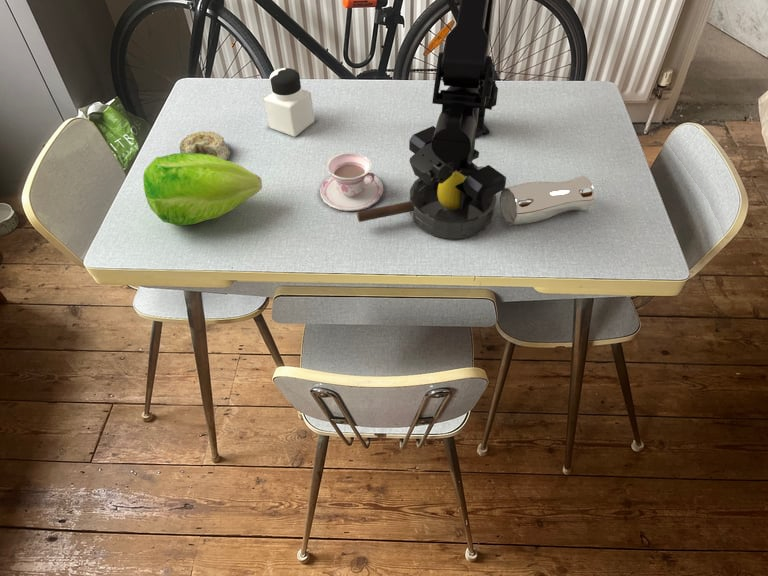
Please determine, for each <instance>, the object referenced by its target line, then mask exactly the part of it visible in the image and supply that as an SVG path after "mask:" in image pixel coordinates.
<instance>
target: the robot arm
mask: <svg viewBox="0 0 768 576" xmlns="http://www.w3.org/2000/svg"><path fill="white" fill-rule="evenodd" d="M493 7H494V0H460V1H459V7H458V14H457V20H456V25H455V26H454V27H453V28H452V29H451V30H450V31H449V32H448V33H447V34H446V36H445V41H444V46H443V50H442V51H439V52H438V57H437V63H436V70H435V78H434V85H433V86H434V87H433V94H432V101H431V102H432V103H431V104H434V105H441V112H440V114H439V116H438V119H437V122H436V125H435V126H434V125H431V126H430V127H427V128H424V129H423V130H420V131H418V132H416V133H414V134H412V135H411V137H410V138H409V141H408V143H409V145H408V146H409V151H410V152H412V153H413V155H412V156H410V158H409V164H410V166H411V169H412V172H413V174H414V176H415V177H418V178H420V179H421V180H423V181H424V182H425V183H426V184H428V185H432V184H434V183H435V182H436V185H437V188H438V185H439V183H440V184H442V183H444V182H445V181H446V180H447V179H448V178H449V177H451V176H452V174H453V172H454V171H456V172H457V173H461V172H462V173H463V174H465V175H466V176H465V180H464V182H462V183H460V184H458V185H456V186H455V187H456V188H457V189H458V190H460V210H461V211H462V210H464V209H466V208H467V206H468V205H469V204H470V202H471V201H472V200H473V199H474V200H476V201H481V202H482V201H484V200H485V199H487V198H489V197H491V196H493V195H495V194H496V195H497V194H498V193H501V192H502V190H504V189H505V188H506V184H507V177H506V175H504V174H502V173H501V172H500V171H498V170H497V169H496V168H494V167H493V166H492V165H490V164H487V165H485V166H478V165H477V164H476V163H474V162H473V161H474V160H476V159H478V158H479V157H480V151H479V150H477V149H475V148H476V147H475V146H476V140H477V139H478V138H480V137H482V136H483V135H484V136H485V135H489V134H490V130H489V128H488V127H487V126H486V124H485V117H486V110H488V111H489V110H490V111H493V107H495V106H497V101H498V92H499V87H498V85H497V83H496V82H497V80H496V79H494V73H495V67H496V66H495V65H496V64H494V62H493V57H492V55H489V47H490V46H489V45H490V44H489V43H490V34H491V27H492V17H493ZM441 81H442V83H443V86H444V87H448V88H447V89H441V90H440V88H441Z"/></svg>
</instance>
